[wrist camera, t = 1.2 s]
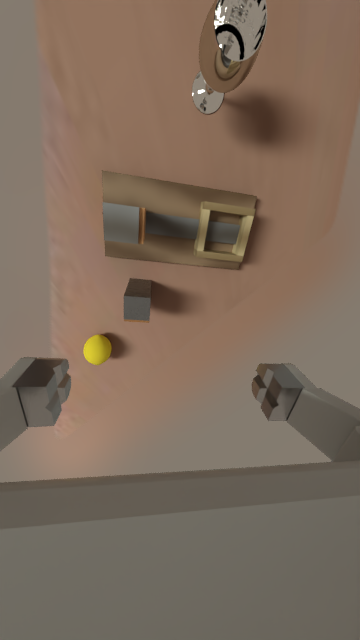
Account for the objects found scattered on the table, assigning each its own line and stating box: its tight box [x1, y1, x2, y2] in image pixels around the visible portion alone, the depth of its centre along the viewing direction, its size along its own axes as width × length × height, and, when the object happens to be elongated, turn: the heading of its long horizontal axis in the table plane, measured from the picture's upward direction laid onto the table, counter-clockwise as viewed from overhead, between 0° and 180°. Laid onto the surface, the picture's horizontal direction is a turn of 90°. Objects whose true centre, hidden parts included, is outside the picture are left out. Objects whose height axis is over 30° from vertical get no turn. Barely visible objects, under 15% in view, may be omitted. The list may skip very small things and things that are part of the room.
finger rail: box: [102, 171, 257, 270], centre depth 30 cm, size 12×24×12 cm, turn 83°
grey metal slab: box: [124, 278, 151, 323], centre depth 36 cm, size 5×4×9 cm
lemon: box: [84, 335, 112, 365], centre depth 42 cm, size 7×5×5 cm
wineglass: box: [192, 0, 267, 114], centre depth 23 cm, size 6×6×12 cm
